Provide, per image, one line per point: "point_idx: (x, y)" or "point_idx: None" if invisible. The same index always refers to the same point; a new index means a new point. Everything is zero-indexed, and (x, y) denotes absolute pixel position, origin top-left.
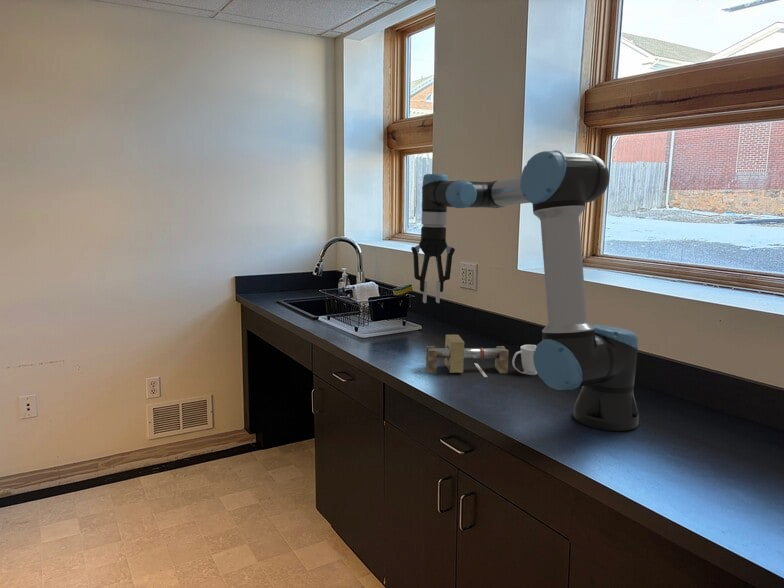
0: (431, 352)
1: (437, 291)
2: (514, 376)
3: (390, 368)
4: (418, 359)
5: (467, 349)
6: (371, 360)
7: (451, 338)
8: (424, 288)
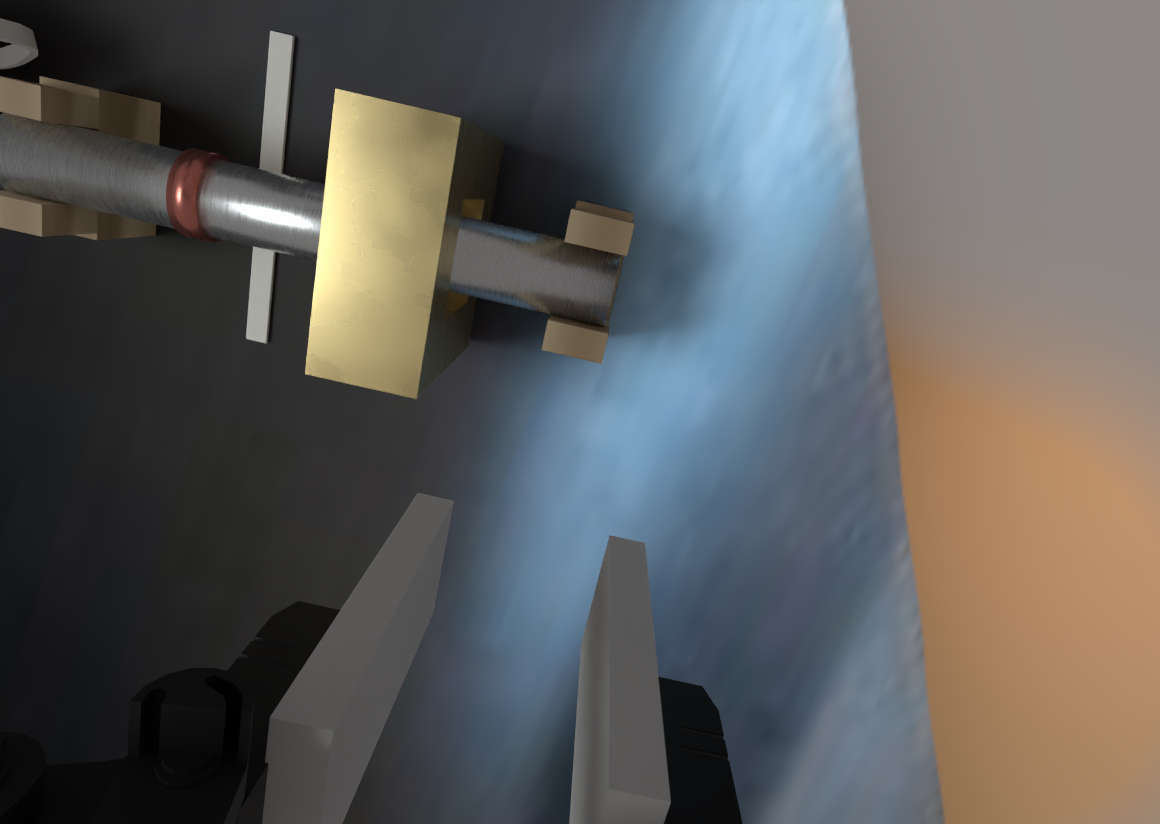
0: (616, 219)
1: (404, 596)
2: (82, 8)
3: (825, 376)
4: (581, 512)
5: (305, 206)
6: (871, 557)
7: (411, 254)
8: (659, 689)
